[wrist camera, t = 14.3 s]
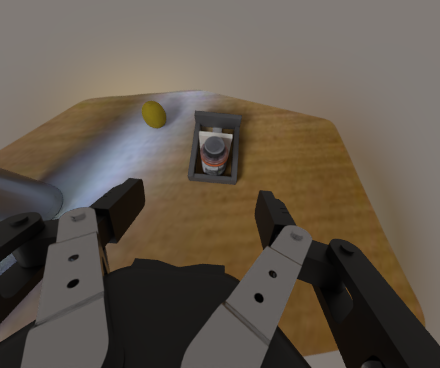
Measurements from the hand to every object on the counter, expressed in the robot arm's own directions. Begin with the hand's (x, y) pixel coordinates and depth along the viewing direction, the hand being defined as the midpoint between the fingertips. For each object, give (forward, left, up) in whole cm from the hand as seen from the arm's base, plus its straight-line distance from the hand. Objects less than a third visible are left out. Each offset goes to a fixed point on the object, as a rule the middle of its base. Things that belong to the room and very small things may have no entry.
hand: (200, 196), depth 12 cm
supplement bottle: (0, +15, -29) cm, 32 cm away
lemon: (-16, +26, -29) cm, 42 cm away
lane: (0, +19, -29) cm, 34 cm away
